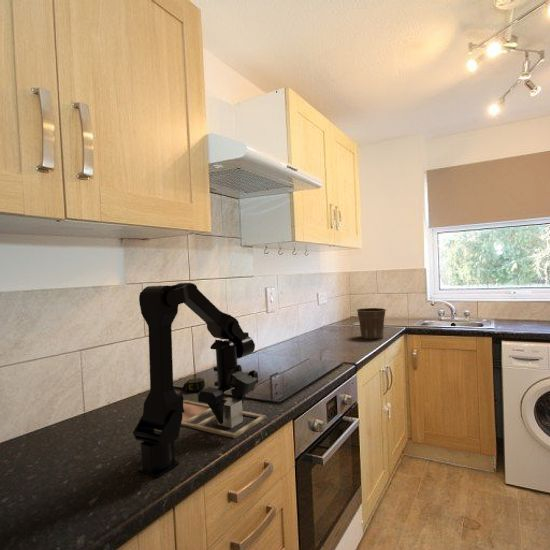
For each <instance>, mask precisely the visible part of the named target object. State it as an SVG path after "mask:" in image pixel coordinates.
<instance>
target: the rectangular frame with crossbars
mask: <svg viewBox="0 0 550 550" xmlns="http://www.w3.org/2000/svg"><path fill="white" fill-rule="evenodd" d="M183 409H184V411H185V412H184V413H182V414H183V416H182V422H181V426H183V427H187V428H190V429H191V428H192V429H196V430H199V431H202V432H203V431H204V432H208V433H213V434H216V435H220V436H223V437H228V438H232V439H236V438H237V437H238V436H239V437H240V435H242V434H243V433H245V432H246V431H248V430H250V429H251V428H253V427H254V426H256V425H257V424H259V423H260V422H262V421H263V420H265V419H267V415H264V414H259V413H255V412H249V411H243V410H242V411H243V416H244V417H245V416H246V417H250V418H256V419H254V420H252V421H251V422H249V423H248V424H246V425H244V426H243V427H241V428H240V429H238V430H236V431H234V432H231V431H226V430H222V429H218V428H214V427H209V426H205V425H206V424H208V423H210V422H212V421H214V420H217V418H216V417H215V415H214V414H213V415H211V416H209V417H208V418H205V419H203V420H202V421H200V422H198V423H192V422H195V421H196V420H199V419H200V418H202V417H203V416H206V415H207V414H210V413H213V411H212V410H211V408H210V407H209V405H208V404H207V403H202V402H198V401H192V400H189V399H188V400H187V399H184V400H183Z"/></svg>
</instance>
